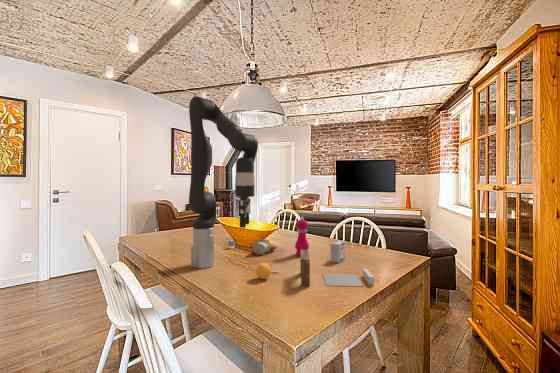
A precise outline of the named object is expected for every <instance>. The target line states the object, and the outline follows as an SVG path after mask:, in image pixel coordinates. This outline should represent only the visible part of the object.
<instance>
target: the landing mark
mask: <svg viewBox="0 0 560 373" xmlns="http://www.w3.org/2000/svg"><path fill="white" fill-rule="evenodd" d="M322 277H323V280H324V283H325V286H326V287H357V288H358V287H363V286H364V285H363V283H361V281H360V279H359V278H358V276H356V274H355V273H353V274H351V273H350V274H349V273H337V274H336V273H323V274H322Z"/></svg>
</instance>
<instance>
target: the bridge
mask: <svg viewBox="0 0 560 373" xmlns="http://www.w3.org/2000/svg"><path fill="white" fill-rule="evenodd" d="M308 250H309V249H308ZM308 250H300V256H299V258H300V259H299V260H300V268H299V269H300V280H301V281H300V282H301V283H300V285H301V287H304V288H305V287H306V288H307V287H309V288H310V287H311V286H310V285H311V284H310V283H311V281H310V279H311V278H310V277H311V276H310V275H311V258H310V254H309V251H308Z"/></svg>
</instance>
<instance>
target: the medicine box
mask: <svg viewBox="0 0 560 373" xmlns="http://www.w3.org/2000/svg"><path fill="white" fill-rule="evenodd" d="M345 245H346V243H345V241H334V242H332V243H330V262H331V263H336V264H337V263H338V264H340V263H342V262H343V261H344V260H345V259H346V255H345V254H346V246H345Z"/></svg>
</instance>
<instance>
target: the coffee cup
mask: <svg viewBox="0 0 560 373" xmlns="http://www.w3.org/2000/svg"><path fill="white" fill-rule="evenodd" d="M235 244H236V243H235V240H233V239H232V240H229V241H228V246H229V249H230V248H231V249H230V250H233V248H234V249H235Z"/></svg>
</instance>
